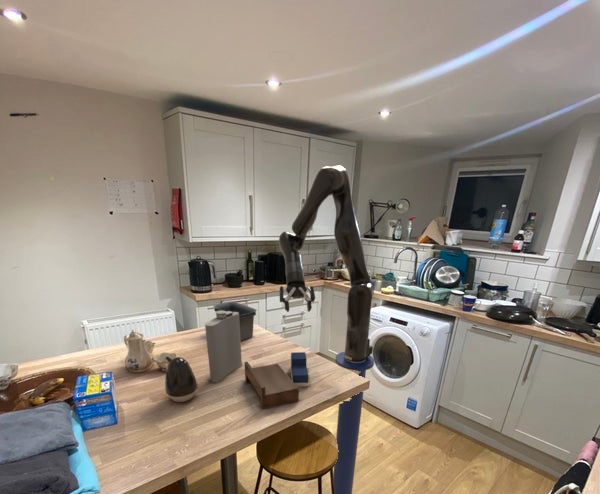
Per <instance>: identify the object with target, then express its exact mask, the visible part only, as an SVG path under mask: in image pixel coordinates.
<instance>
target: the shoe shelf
mask: <svg viewBox="0 0 600 494" xmlns="http://www.w3.org/2000/svg"><path fill="white" fill-rule="evenodd" d="M244 378H245V379H244V380H245V383H246V384H248V383H251V385H252V386H253V388H254V389H255V391H256V392H257V394H258V396H259V397H260V408H261V409H263V410H264V409H269V408H272V407H277V406H281V405H285V404H290V403H294V402H295V403H296V402H298V401H299V394H300V393H299V391H300V390H299V388H300V387H299V386H296V384H295V383H294V382H293V381H292V378H291V376H289V375H288V374H287V373H286V371H284V369H283V368H282V367H281V366H280V364H278V363H274V364H273V363H272V364H267V365H261V366H257V367H252V366H251V365H250V363H249V362H248V361H244Z"/></svg>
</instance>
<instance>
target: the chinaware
mask: <svg viewBox="0 0 600 494" xmlns="http://www.w3.org/2000/svg"><path fill="white" fill-rule="evenodd" d="M123 341H124V345H125V346H126V348H127V349H128V350H127V354H126V357H125V359H124V365H125V368H127V369H128V371H129V372H131V373H143V372H146V371H148V370H151V369H152V367H153V364H154V363H156V366H157V367H158V368H160V369H161V371H163V372H166V371H167V367H168V365H169V362H168V361H167V360H166V357H169V358H171V359H173V358H176V357H177V354H176V353H174V352H171V353H169V352H162V353H160V354H157V355H154V356H153V355H152V353H153V352H154V349H155V345H156V342H152V341H150V340H146V339H144V334H143V333H139V332H137V331H136V330H135V329H132V330H131V332H130V333H129V334H125V335H124V336H123Z"/></svg>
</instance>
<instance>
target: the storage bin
mask: <svg viewBox="0 0 600 494" xmlns="http://www.w3.org/2000/svg"><path fill="white" fill-rule="evenodd" d="M212 307H213V310H214V312H216V311H226V312H227V311H231V312H238V313H239V323H240V340H241V341H244V340H248V339H250V338H252V337H253V336H254V320H255V316H256V315H257V309H256V308H253V307H252V306H249V305H245V304H242V303H239V302H237V301H226V302H225V301H224V302H222V303H218V304H213V306H212Z"/></svg>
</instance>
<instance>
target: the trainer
mask: <svg viewBox="0 0 600 494" xmlns="http://www.w3.org/2000/svg"><path fill="white" fill-rule="evenodd" d="M307 361H308V359H307V354H306V352H304V351H302V352H301V351H299V352H296V351H295V352H290V379H291V380H292V381H293V382H294V383H295V384H296V386H297V387H309V385H310V383H309V371H308V366H307Z"/></svg>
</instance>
